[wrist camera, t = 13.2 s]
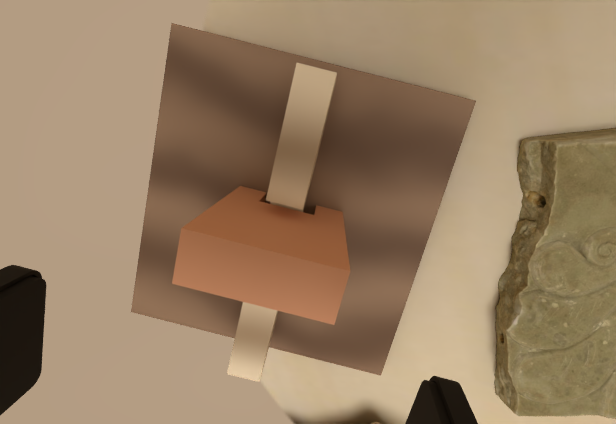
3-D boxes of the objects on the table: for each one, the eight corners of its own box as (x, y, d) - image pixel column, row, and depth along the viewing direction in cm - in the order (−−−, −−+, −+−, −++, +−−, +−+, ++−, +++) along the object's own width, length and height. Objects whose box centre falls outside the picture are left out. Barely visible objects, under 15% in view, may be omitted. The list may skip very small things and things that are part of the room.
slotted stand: (179, 27, 24) (127, -4, 18) (468, 102, 24) (515, 95, 18) (139, 303, 28) (87, 353, 22) (378, 365, 28) (391, 430, 22)
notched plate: (240, 185, 25) (181, 227, 15) (342, 212, 25) (350, 271, 15) (233, 220, 25) (171, 283, 15) (333, 246, 25) (334, 324, 15)
